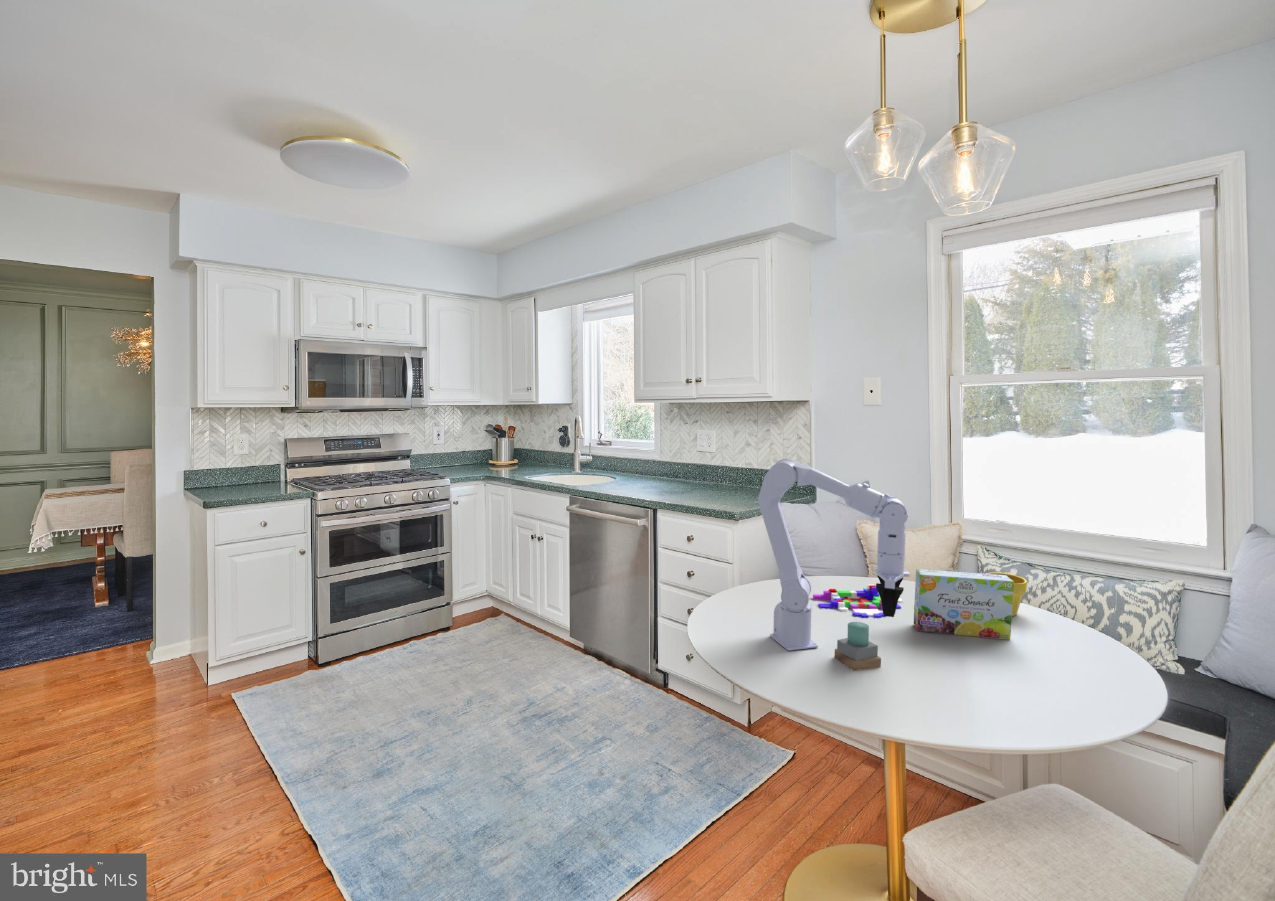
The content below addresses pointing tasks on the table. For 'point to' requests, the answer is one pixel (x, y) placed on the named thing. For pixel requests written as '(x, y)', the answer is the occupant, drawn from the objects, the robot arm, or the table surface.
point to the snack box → (963, 603)
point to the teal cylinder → (858, 634)
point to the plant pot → (1016, 590)
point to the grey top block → (857, 650)
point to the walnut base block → (858, 662)
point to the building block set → (845, 598)
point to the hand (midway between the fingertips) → (889, 610)
